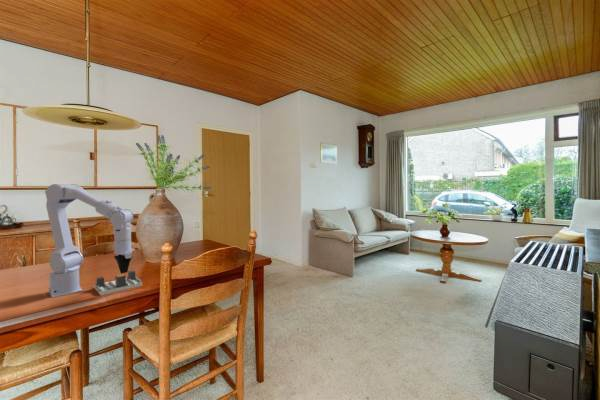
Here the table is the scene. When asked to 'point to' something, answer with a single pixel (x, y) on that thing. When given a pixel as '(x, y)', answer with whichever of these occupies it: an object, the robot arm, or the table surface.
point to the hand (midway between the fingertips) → (123, 272)
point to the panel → (111, 286)
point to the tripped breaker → (120, 280)
